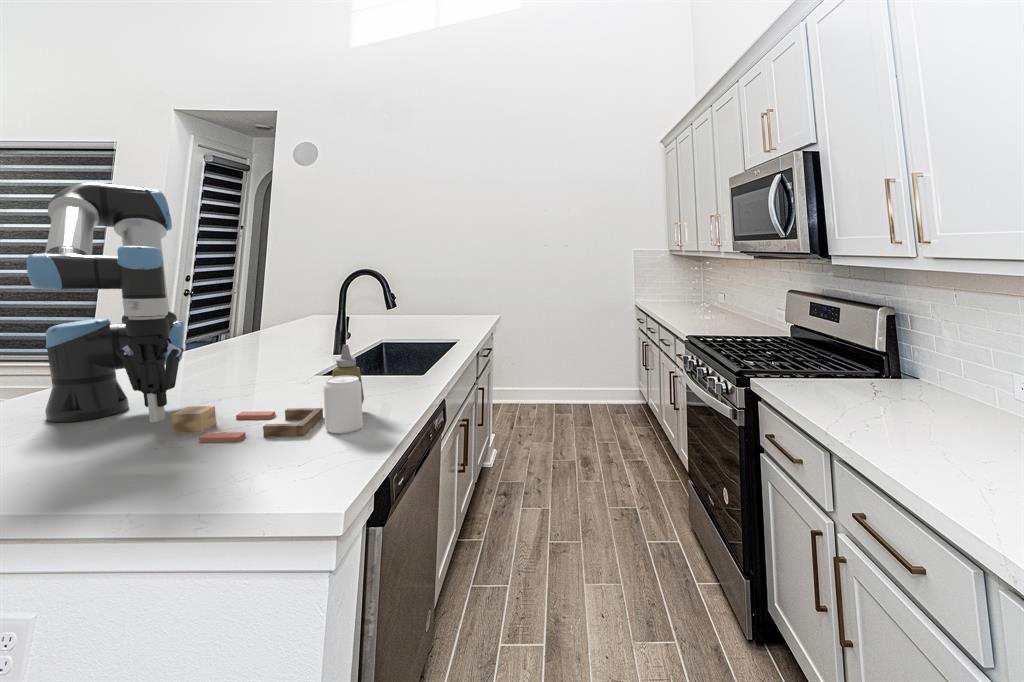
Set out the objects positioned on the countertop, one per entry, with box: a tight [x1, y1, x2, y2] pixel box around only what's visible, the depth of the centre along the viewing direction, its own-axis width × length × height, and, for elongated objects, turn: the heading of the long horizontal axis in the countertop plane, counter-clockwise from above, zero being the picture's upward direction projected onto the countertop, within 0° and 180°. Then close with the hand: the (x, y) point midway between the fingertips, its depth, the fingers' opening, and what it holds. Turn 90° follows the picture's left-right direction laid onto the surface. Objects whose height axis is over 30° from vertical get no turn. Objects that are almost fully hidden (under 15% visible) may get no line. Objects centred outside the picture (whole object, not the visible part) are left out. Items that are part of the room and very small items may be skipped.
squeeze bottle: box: [331, 344, 365, 405], centre depth 114 cm, size 8×8×18 cm
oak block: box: [170, 405, 217, 434], centre depth 103 cm, size 6×6×4 cm
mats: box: [198, 410, 276, 443], centre depth 104 cm, size 8×18×1 cm, turn 5°
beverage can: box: [323, 376, 363, 435], centre depth 103 cm, size 8×8×12 cm
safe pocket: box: [262, 407, 324, 438], centre depth 105 cm, size 8×13×2 cm, turn 5°
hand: (157, 420), depth 102 cm, fingers closed
